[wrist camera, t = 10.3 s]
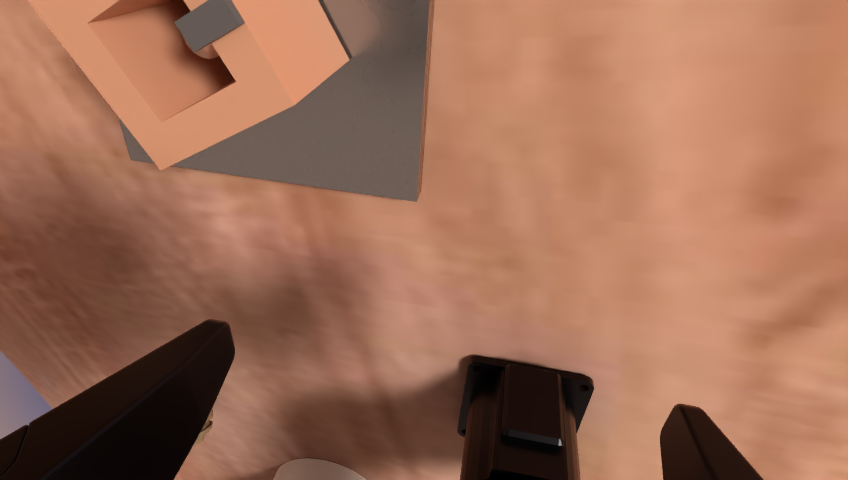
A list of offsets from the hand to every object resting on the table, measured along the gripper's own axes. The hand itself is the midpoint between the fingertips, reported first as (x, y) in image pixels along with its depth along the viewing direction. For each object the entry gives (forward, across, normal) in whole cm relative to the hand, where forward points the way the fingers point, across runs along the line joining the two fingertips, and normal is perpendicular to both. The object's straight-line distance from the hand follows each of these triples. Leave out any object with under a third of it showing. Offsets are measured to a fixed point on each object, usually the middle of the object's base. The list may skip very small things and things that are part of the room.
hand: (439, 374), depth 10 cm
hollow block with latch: (+11, +9, -4) cm, 14 cm away
